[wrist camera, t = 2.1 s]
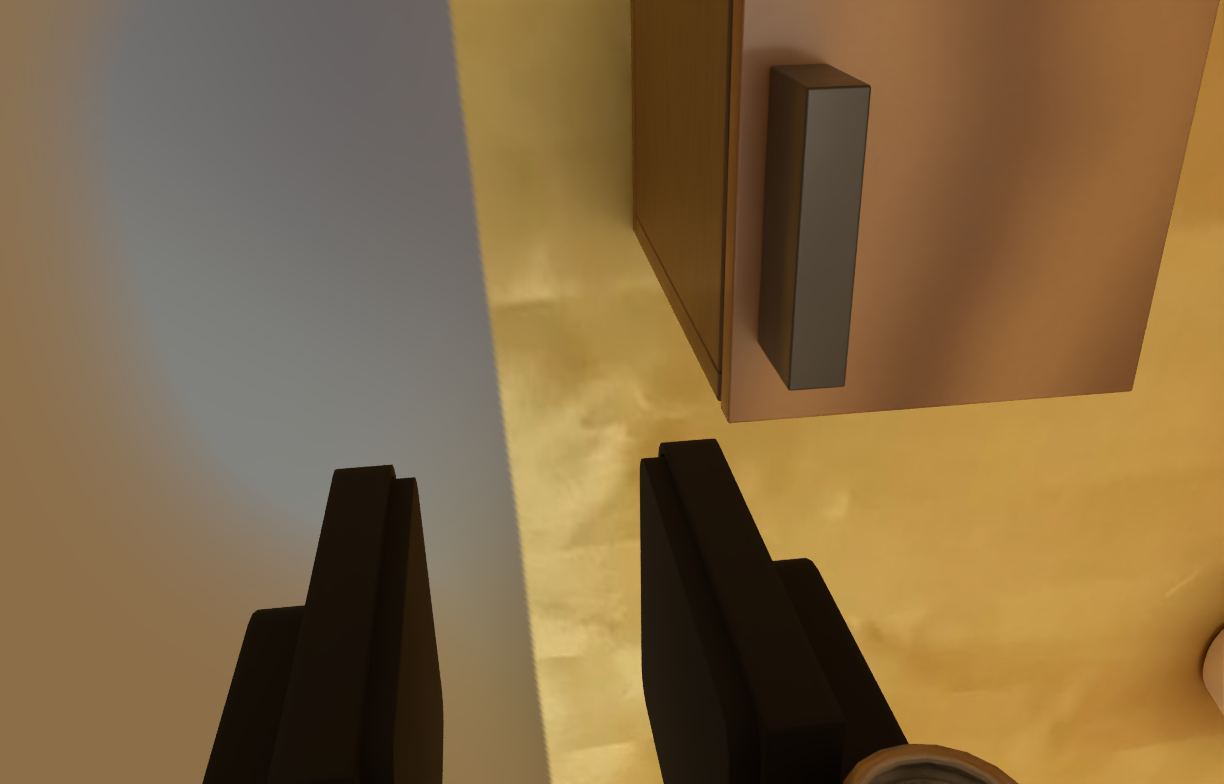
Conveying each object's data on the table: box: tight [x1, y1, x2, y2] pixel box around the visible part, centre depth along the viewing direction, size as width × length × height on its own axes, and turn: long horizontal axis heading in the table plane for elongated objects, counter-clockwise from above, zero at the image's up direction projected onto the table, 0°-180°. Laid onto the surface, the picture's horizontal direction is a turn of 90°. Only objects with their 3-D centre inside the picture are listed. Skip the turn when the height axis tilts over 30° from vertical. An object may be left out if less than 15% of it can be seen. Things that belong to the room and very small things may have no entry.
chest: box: [631, 0, 733, 401], centre depth 30 cm, size 10×10×14 cm
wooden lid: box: [721, 0, 1220, 423], centre depth 22 cm, size 10×10×3 cm
